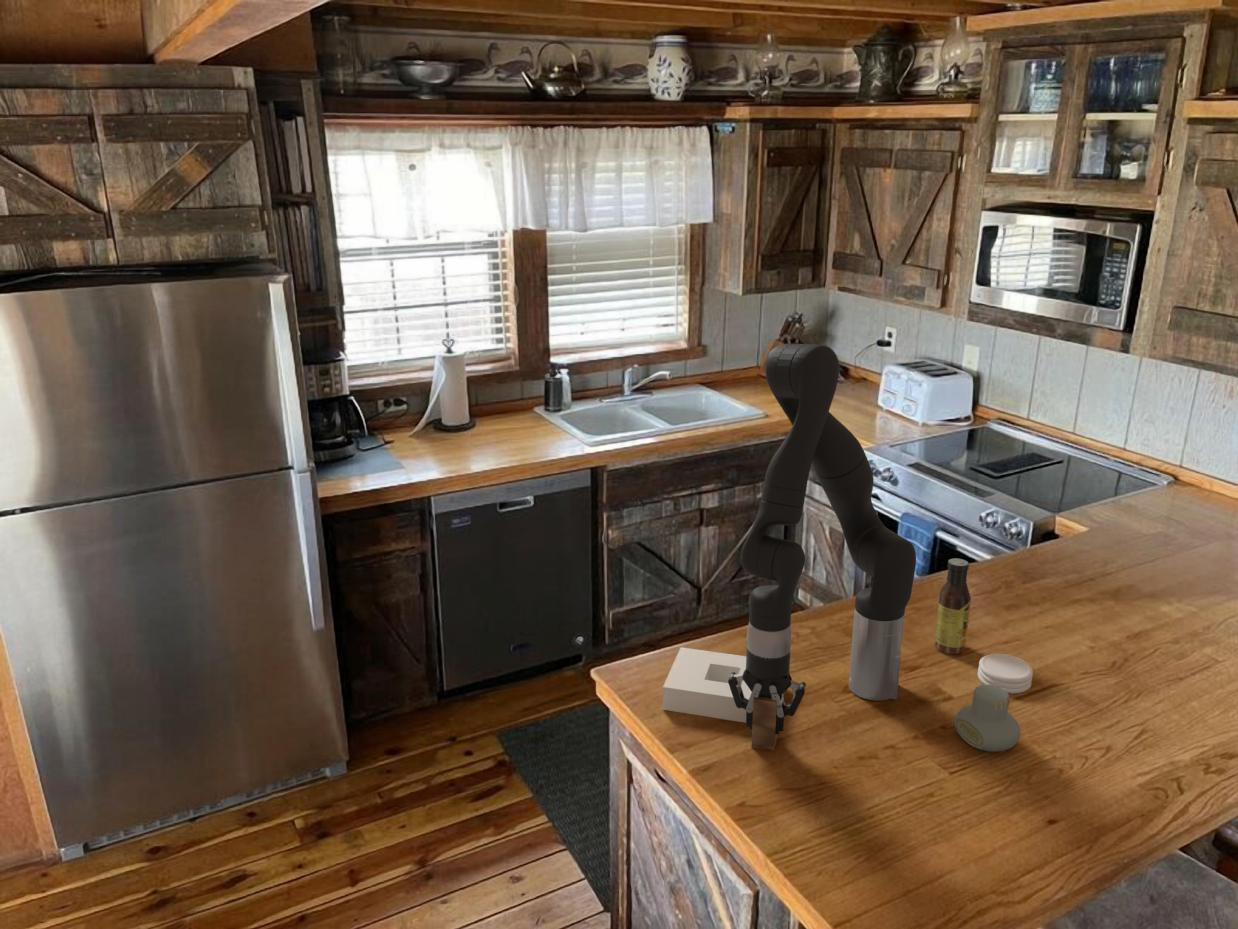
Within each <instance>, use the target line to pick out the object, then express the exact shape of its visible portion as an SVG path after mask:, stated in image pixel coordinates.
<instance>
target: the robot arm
mask: <svg viewBox="0 0 1238 929" xmlns="http://www.w3.org/2000/svg"><path fill="white" fill-rule="evenodd" d="M765 361H766V362H765V377H766V381H767V385H768V386H769V389H770V391H771V392H772V395H773V396H774V398H775V400H776V402H777V403H778V404H779V406H780V408H781V409H782V411H783V412H784V414H785V415H786V417H787V419H788V421H789V422H790V424H791V425H792V426H791V428H790V430H789V432H788V434H787V436H786V437H785V438H784V440H783V442H782V443H781V445H780V446H779V448H778V449H776V452H775V453H774V455H773V456H772V458H771V460H770V462H769V464H768V466H767V470H766V472H765V476H764V481H763V486H762V492H761V496H760V504H759V508H758V511H757V515H756V516H755V519H754V522H753V524H752V527H751V529H750V531H749V532H748V535H747V536H746V539H745V541H744V543H743V545H742V548H741V550H740V558H739V560H740V564H741V567H742V569H743V571H744V572H745V573H746V574H748V575H750V576H754V577H758V578H763V579H766V580H770V581H773V582H777V584H771V585H761V586H758V587H755V588H754V589H753V590H752V591H751V593H750V596H749V597H750V598H749V612H748V614H749V615H748V617H749V618H748V626H747V632H746V640H745V642H746V653H745V655H746V669H745V671H744V673H741V674H736V673H735V672H732V673H731V674H730V677H729V680H728V683H729V686H730V689H731V692H732V695H733V698H734V701H735V704H736V707H737V708H743V709H745V710H746V723H745V725H746V727H747V728H749V729H748V730H749V731H752V722H753V699H754V698H758V696H759V697H765V698H772V700H773V701H777V705H776V707H777V711H776V713H777V716H776V732H775V734H777V735H780V732H781V733H782V732H783V731H784V728H785V719H786V718H785V717H787V716H789V717H794V716H795V715H796V712H797V710H798V707H799V706H800V704H801V702H802V700H803V697H804V695H805V692H806V689H807V688H806V687H807V683H806V682H804V681H800V682H797V681H794V680H793V678H792V676H791V674H790V670H791V669H790V668H791V667H790V666H791V665H790V664H791V648H792V645H791V644H792V628H791V625H792V624H791V621H792V620H791V619H792V606H793V605H792V603H793V599H794V595H795V593H796V588H797V585H798V582H799V579H800V577H801V576H802V573H803V571H804V567H805V564H806V554H805V551H804V548H803V547H802V546H801V545H800V544H799V543H798V542H796V541H792V540H789V539H783V538H778V537H776V536H775V537H774V536H770V533H771V532H772V531H773V529H774V528H776V527H777V526H795V525H797V524H799V523H800V522H801V520H802V516H803V509H804V503H805V499H806V493H807V487H808V481H809V476H810V470H811V467H812V468H813V471H814V473H815V475H816V478H817V479H818V481H819V484H820V487H822V490H823V491H824V493H825V495H826V498H827V500H828V501H829V504H830V505H831V508H832V510H833V512H834V513H835V516H836V517H837V519H838V522H839V524H840V527H841V531H842V534H843V537H844V540H845V543H846V545H847V550H848V552H849V555H850V558H851V559H852V561H853V562H854V564H855V565H856V566H857V567H858V568H859V570H861V571H862V572H864V573H866V574H867V575H868V576H871V578H872V580H871V581H872V582H871V583H872V584H871V586H870V587H866V588H863V589H860V590H859V591H858V592H857V593H856V595H855V599H854V600H855V601H854V602H855V603H854V612H853V613H854V614H853V626H852V636H851V637H852V639H851V649H850V662H849V672H848V688H849V690H850V691H851V692H852V693H853V694H854V695H856V696H857V697H859V698H862V699H865V700H869V701H878V702H879V701H887V700H897V698H898V690H899V680H900V678H899V677H900V670H901V669H900V668H901V662H902V661H901V659H902V645H903V644H902V642H903V635H904V634H903V632H904V625H905V624H904V622H905V613H906V607H907V605H908V603H909V602H910V600H911V596H912V592H913V586H914V585H913V584H914V579H915V572H916V565H917V552H916V549H915V547H914V545H913V543H911V541H909V540H908V539H906V538H905V537H903V536H902V535H899V534H897V533H896V532H894V531H892V530H891V529H889V528H887V527H886V526H885V524H884V523H883V521H882V520H881V519H880V517H879V515H878V513H877V510H876V509H875V506H874V505H873V504H874V503H873V501H872V494H873V489H874V480H875V479H874V474H873V470H872V467H871V464H870V462H869V459H868V456H867V455H866V452H865V450H864V448H863V446H862V445H861V443H860V441H859V440H858V438H857V437H856V436H855V435H854V434H853V433H852V432H851V431H850V430H849V429H848V428H847V427H846V426H845V425H844V424H842V422H841V421H840V420H839V419H838V418H836V417H835V416H834V414H832V413H831V412H830V408H831V406H832V403H833V400H834V397H835V394H836V390H837V386H838V383H839V378H840V363H839V362H840V361H839V358H838V356H837V354H836V352H835V350H834V349H832V348H831V347H830V346H828V345H825V344H813V343H812V344H811V343H810V344H809V343H808V344H807V343H784V344H783V343H782V344H779V345H777V346H775V347H773V349H771V350H770V352H769V353H768V354H767V357H766V360H765ZM743 680H744V682H745V683H746V685H747V686H748V687H749V689H750V690H751V695H750V697H749V700H748V699H746V698H745V697H744V694H743V691H742V688H741V685H742V681H743ZM789 688H790V689H791V694H792V695H793V696H792V698H791V700H790V702H789V704H786V703H785V700H784V693H785V692H786V691H787V690H788V689H789Z"/></svg>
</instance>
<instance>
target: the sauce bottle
mask: <svg viewBox="0 0 1238 929" xmlns="http://www.w3.org/2000/svg"><path fill="white" fill-rule="evenodd" d="M969 565H970V563H969V562H968V561H967V560H965V559H962V558H958V557H957V558H956V557H955V558H950V559H948V561H947V576H946V582H945V583H944V584H943V585H942V586H941V588H940V590H939V598H938V599H939V600H938V603H937V614H936V624H935V625H936V626H935V633H934V634H935V635H934V641H935V642H934V646H935V648H936V649H937V650H938V651H939V652H941V653H943V654H948V655H959V654H962V652H964V650H965V647H966V646H965V645H966V644H967V637H968V630H969V629H968V628H969V619H970V608H971V600H972V597H971V595H970V590H969V588H968V583H967V576H968V571H969V567H970V566H969Z"/></svg>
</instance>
